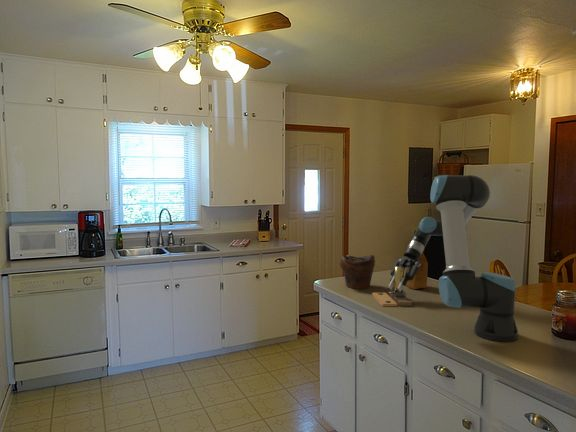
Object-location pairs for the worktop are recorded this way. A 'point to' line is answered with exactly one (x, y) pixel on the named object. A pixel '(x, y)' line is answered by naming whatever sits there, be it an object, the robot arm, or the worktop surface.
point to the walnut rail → (400, 299)
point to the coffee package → (419, 275)
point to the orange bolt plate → (384, 299)
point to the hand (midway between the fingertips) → (394, 288)
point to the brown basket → (358, 270)
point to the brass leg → (398, 282)
